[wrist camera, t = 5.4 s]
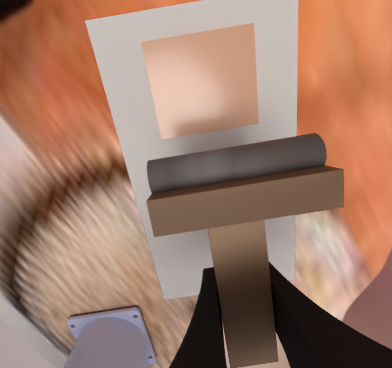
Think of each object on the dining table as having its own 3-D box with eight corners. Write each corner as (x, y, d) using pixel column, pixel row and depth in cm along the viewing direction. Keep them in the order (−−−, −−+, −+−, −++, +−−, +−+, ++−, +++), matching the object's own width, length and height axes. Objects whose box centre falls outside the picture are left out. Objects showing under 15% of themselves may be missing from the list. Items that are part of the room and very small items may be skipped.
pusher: (280, 299, 15) (346, 419, 8) (195, 312, 15) (198, 441, 9) (265, 135, 12) (342, 131, 6) (165, 152, 13) (138, 165, 6)
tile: (258, 123, 15) (254, 22, 13) (161, 139, 15) (141, 42, 13) (252, 121, 16) (246, 31, 14) (163, 136, 17) (145, 48, 14)
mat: (292, 277, 23) (294, 280, 22) (164, 296, 23) (164, 300, 23) (295, -14, 14) (298, -17, 14) (87, 22, 14) (85, 20, 14)
